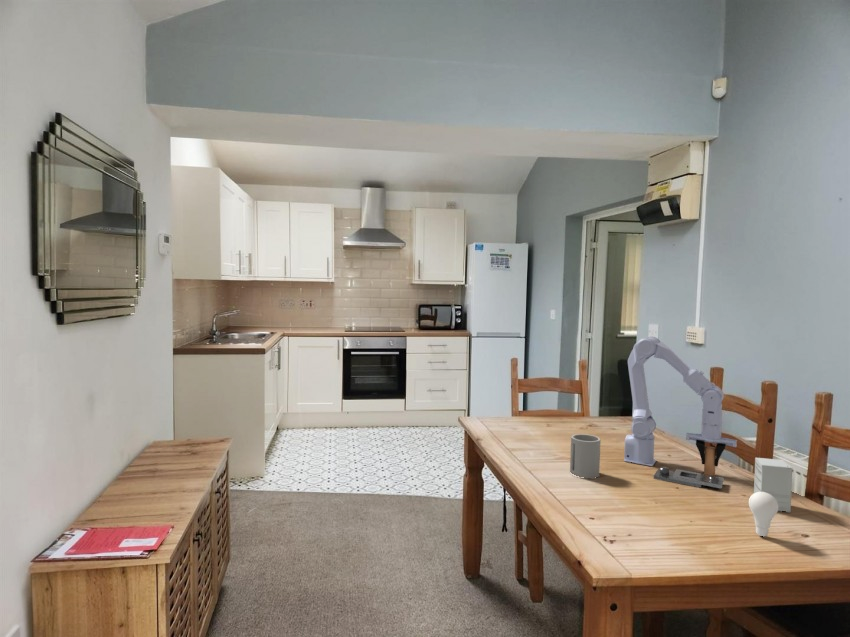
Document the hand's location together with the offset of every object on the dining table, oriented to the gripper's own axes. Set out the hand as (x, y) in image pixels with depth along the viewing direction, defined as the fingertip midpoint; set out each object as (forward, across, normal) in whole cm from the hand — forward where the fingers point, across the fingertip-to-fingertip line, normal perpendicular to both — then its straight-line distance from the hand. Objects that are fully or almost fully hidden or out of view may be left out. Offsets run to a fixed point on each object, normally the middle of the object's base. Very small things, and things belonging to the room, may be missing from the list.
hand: (709, 464), depth 172 cm
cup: (+4, -34, -24) cm, 42 cm away
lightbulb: (+4, +15, -43) cm, 46 cm away
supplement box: (+4, +17, -19) cm, 26 cm away
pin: (+3, 0, 0) cm, 3 cm away
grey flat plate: (+3, -5, -11) cm, 13 cm away
